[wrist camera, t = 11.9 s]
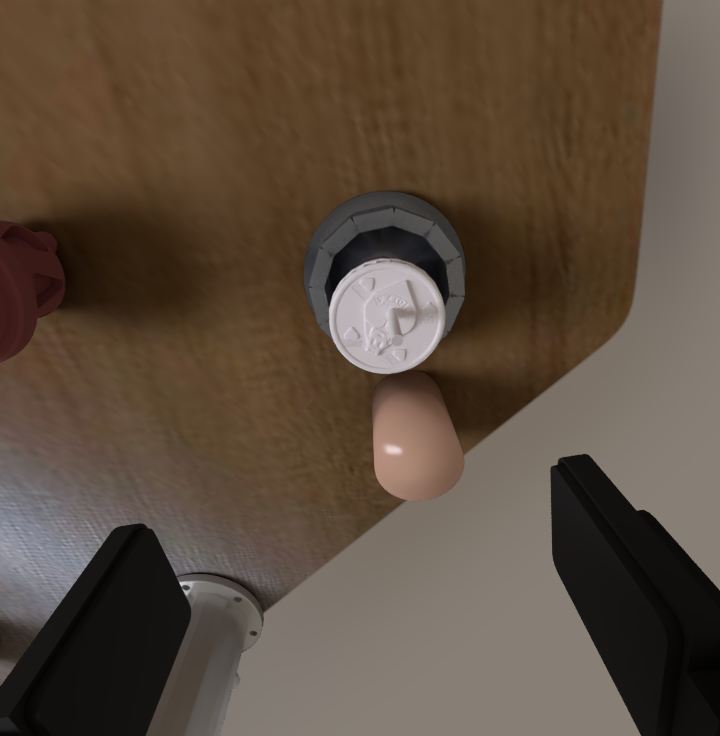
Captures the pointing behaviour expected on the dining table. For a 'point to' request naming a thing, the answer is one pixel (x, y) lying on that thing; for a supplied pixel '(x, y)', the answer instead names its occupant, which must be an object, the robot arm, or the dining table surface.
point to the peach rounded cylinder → (414, 438)
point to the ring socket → (384, 248)
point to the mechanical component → (26, 284)
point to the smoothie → (386, 315)
